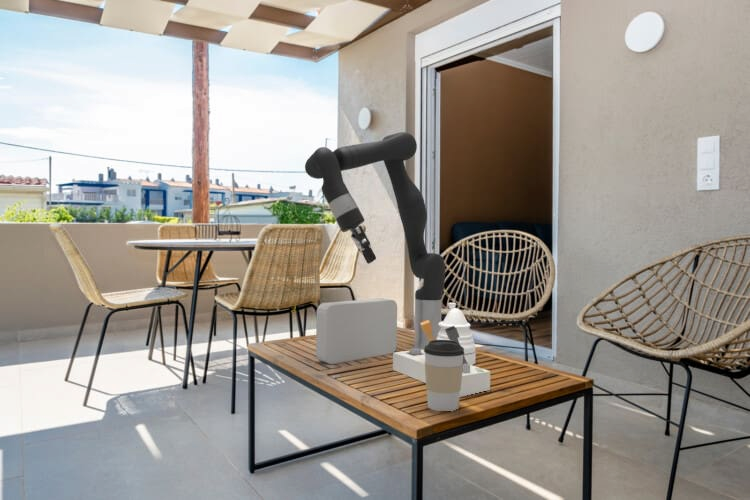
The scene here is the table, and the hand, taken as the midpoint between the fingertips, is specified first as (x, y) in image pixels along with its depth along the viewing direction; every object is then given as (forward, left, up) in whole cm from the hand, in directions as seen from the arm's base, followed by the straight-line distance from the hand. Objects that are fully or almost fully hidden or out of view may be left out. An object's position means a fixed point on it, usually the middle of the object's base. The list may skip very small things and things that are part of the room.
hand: (372, 261), depth 146 cm
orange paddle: (-10, +19, -25) cm, 33 cm away
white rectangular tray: (-10, +19, -31) cm, 38 cm away
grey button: (-10, +9, -28) cm, 31 cm away
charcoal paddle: (-10, +30, -26) cm, 41 cm away
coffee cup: (+3, +37, -32) cm, 49 cm away
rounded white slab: (-4, -14, -32) cm, 35 cm away
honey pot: (-28, +5, -32) cm, 42 cm away
